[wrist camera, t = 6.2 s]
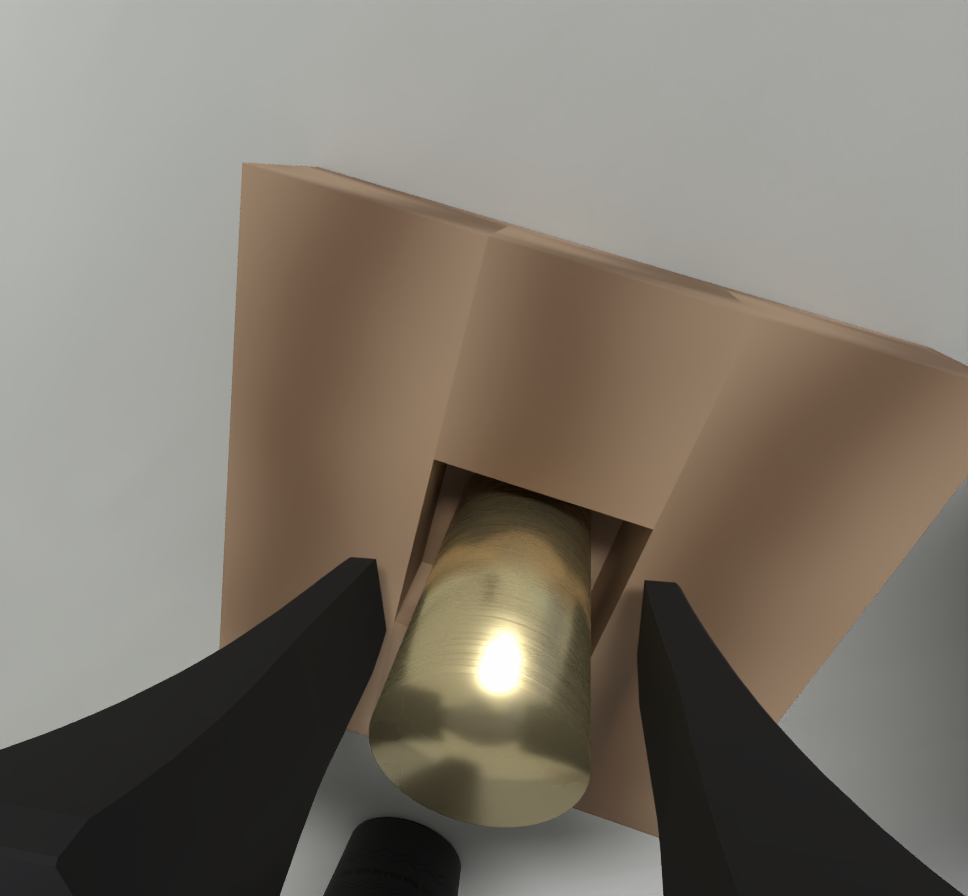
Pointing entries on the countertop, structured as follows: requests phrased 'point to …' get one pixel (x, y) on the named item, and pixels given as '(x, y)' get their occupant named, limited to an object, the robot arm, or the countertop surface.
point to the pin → (496, 665)
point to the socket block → (567, 436)
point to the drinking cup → (396, 862)
